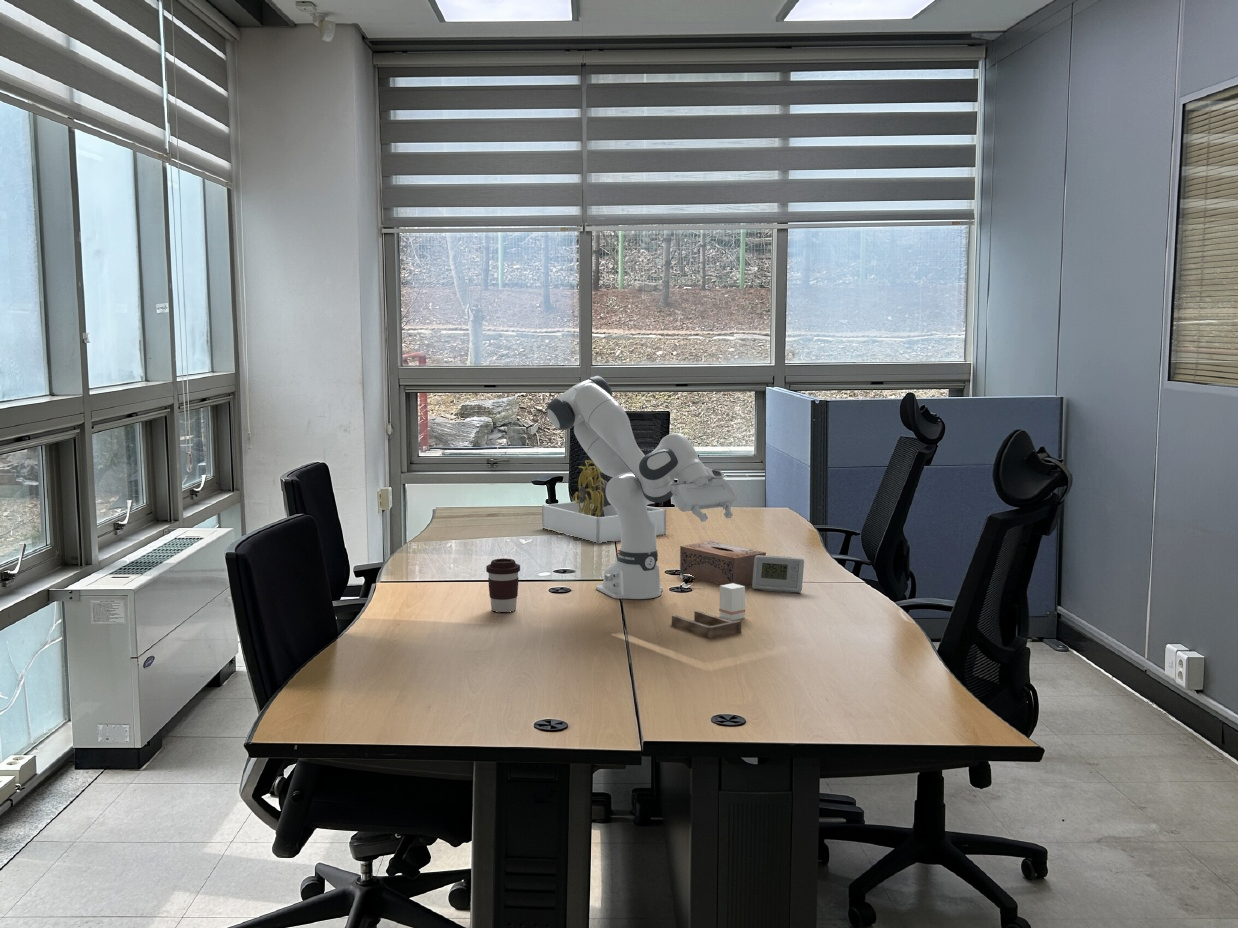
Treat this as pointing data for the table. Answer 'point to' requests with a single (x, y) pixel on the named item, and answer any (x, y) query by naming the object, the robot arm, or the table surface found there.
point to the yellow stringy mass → (592, 492)
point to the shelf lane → (707, 625)
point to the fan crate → (592, 521)
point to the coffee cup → (503, 584)
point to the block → (732, 601)
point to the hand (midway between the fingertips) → (717, 518)
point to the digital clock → (778, 574)
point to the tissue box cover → (718, 562)
